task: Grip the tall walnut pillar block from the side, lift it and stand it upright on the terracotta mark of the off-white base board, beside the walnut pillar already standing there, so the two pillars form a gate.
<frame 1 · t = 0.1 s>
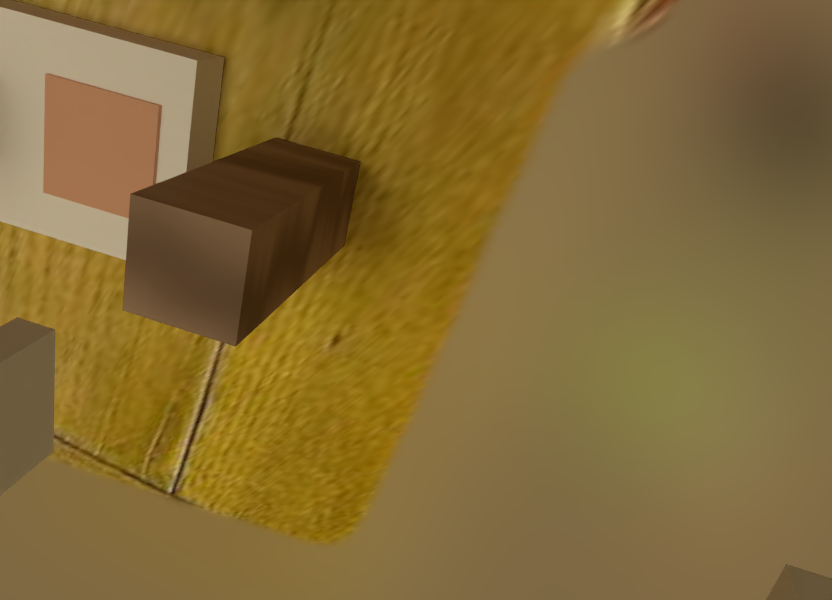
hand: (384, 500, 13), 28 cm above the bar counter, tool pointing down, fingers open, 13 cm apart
base board: (71, 123, 43), on the bar counter
walnut pillar: (310, 192, 41), on the bar counter
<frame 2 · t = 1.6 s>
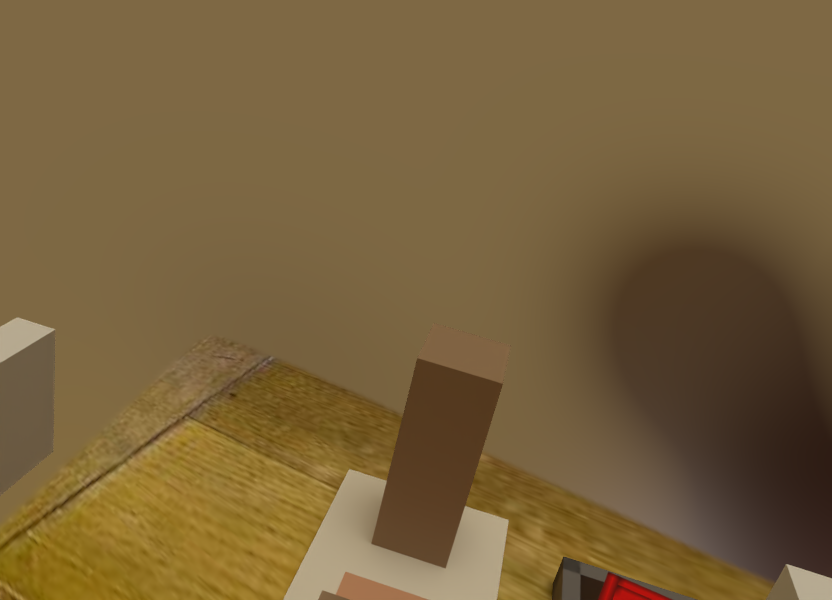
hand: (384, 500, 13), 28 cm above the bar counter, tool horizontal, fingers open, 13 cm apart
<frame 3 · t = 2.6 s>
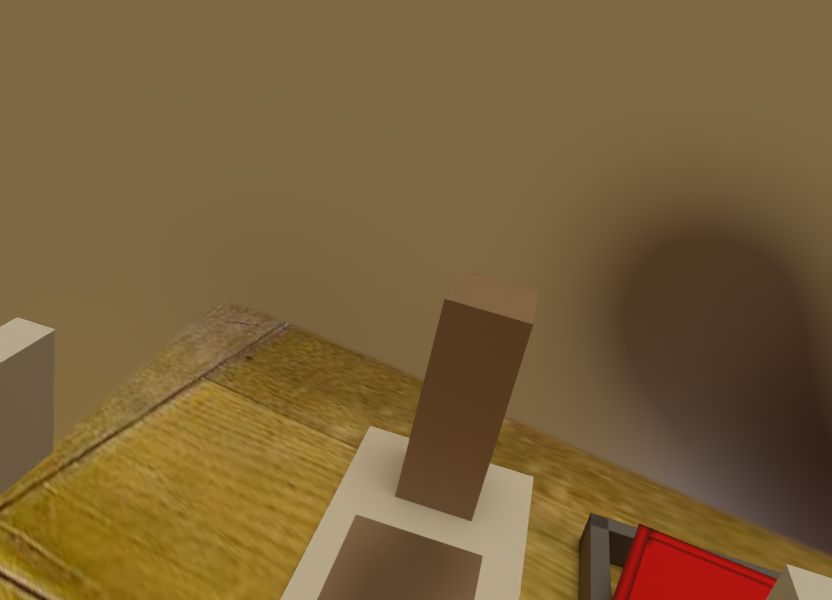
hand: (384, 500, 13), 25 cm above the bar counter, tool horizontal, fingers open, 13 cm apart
base board: (414, 572, 44), on the bar counter
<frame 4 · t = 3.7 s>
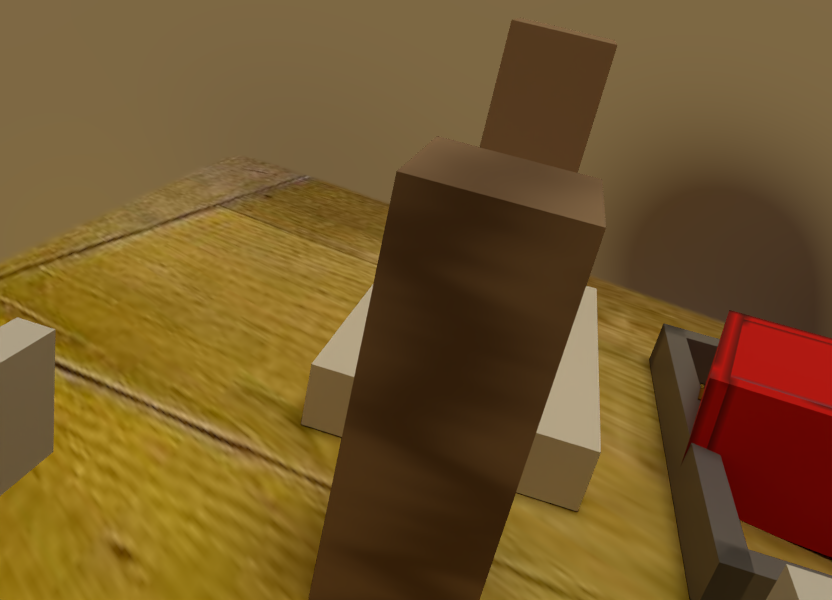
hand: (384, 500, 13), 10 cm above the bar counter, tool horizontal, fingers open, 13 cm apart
base board: (468, 368, 38), on the bar counter
walnut pillar: (402, 568, 25), on the bar counter
french fries container: (827, 508, 34), on the bar counter, touching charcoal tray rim
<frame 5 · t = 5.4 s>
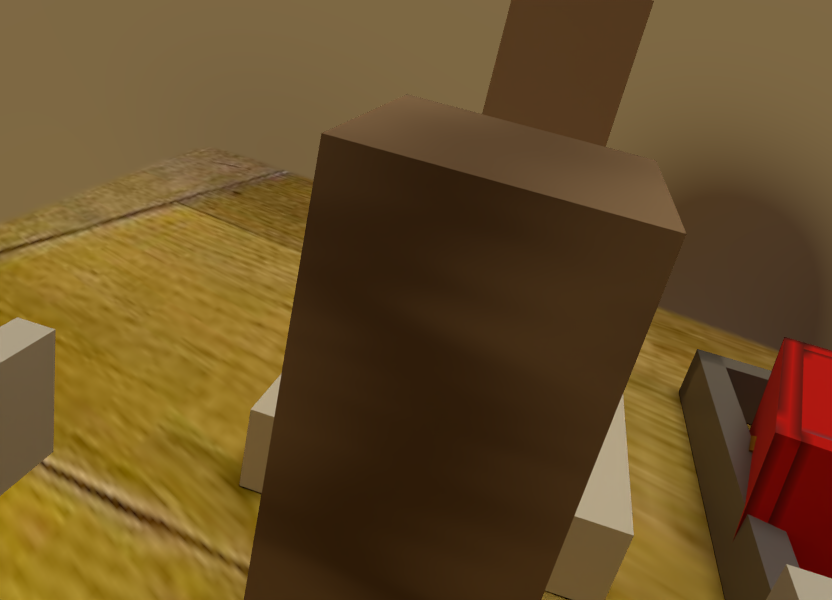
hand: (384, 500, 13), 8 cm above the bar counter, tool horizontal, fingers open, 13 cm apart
base board: (461, 405, 31), on the bar counter
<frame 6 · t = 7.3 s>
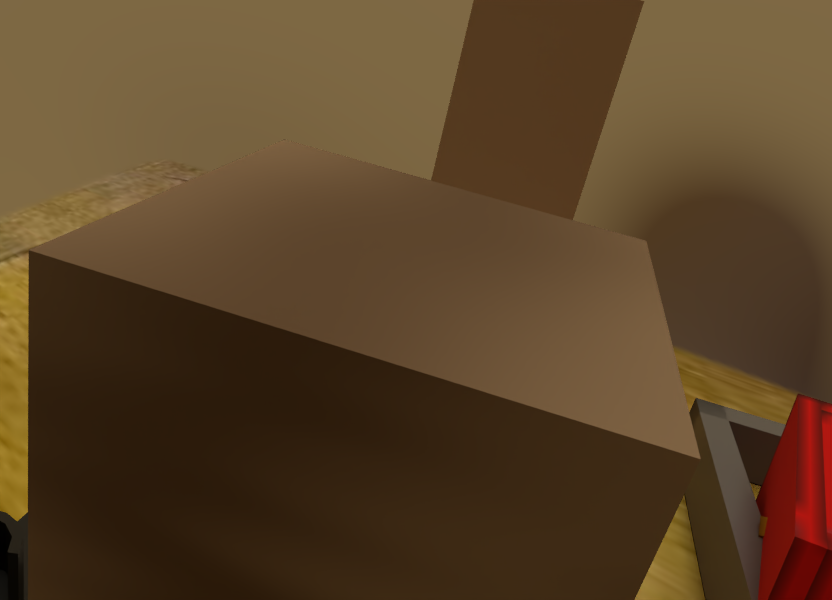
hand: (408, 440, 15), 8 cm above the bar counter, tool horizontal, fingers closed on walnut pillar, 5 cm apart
base board: (421, 473, 27), on the bar counter
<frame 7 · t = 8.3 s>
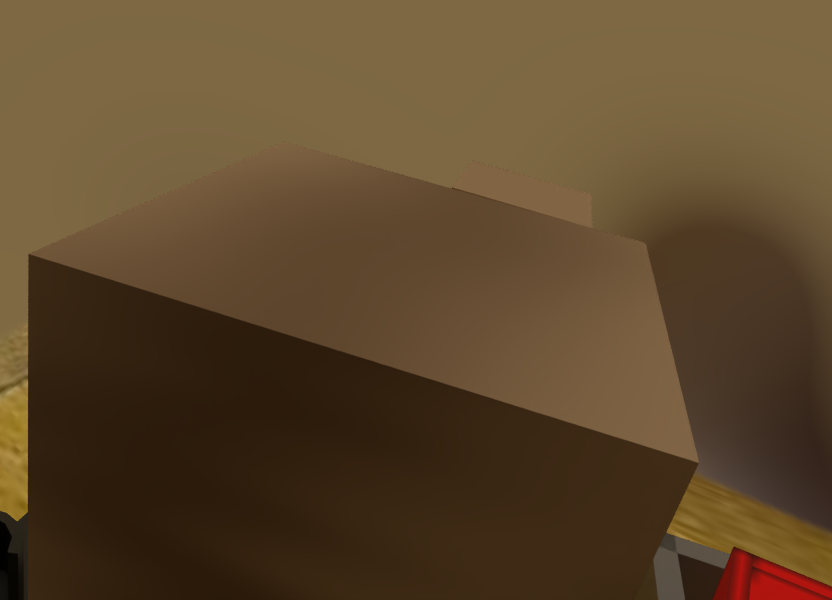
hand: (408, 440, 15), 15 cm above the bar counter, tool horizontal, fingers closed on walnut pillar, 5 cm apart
when the fingers open (13 cm above the bar counter, at t = 13.7 s): walnut pillar drops 2 cm, resting on base board.
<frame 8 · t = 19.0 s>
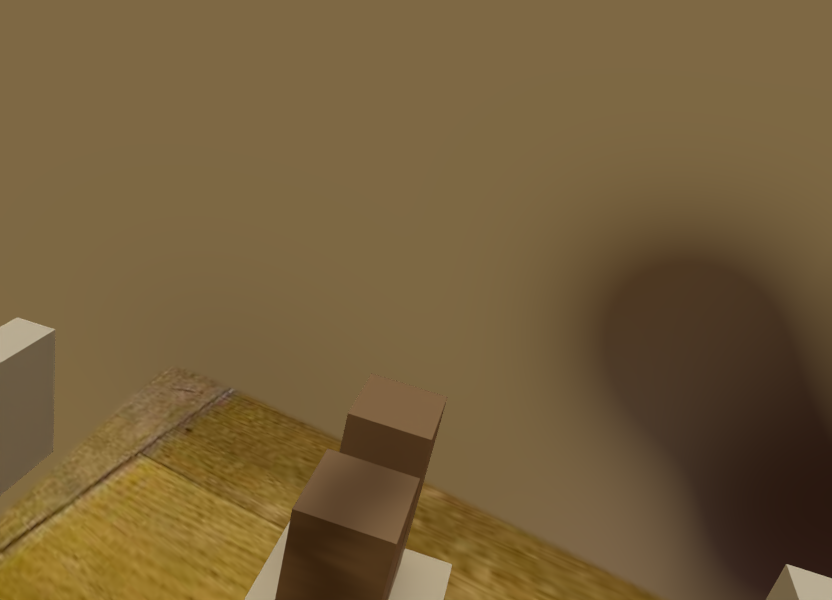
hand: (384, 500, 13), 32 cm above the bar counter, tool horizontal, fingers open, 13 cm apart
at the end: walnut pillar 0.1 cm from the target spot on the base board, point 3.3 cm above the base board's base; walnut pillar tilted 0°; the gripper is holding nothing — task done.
